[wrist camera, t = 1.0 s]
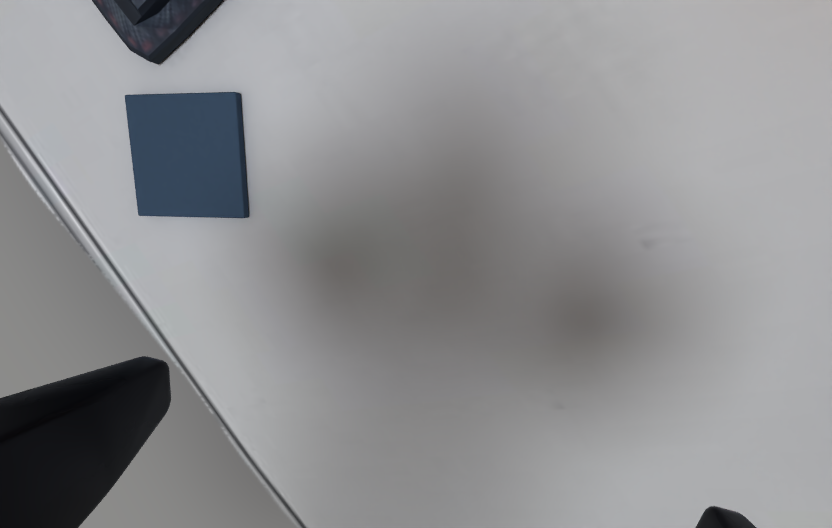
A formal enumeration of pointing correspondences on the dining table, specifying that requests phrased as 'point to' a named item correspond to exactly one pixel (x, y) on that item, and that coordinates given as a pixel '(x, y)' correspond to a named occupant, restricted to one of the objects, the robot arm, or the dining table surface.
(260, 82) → the dining table surface
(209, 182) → the mat
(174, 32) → the wallet
